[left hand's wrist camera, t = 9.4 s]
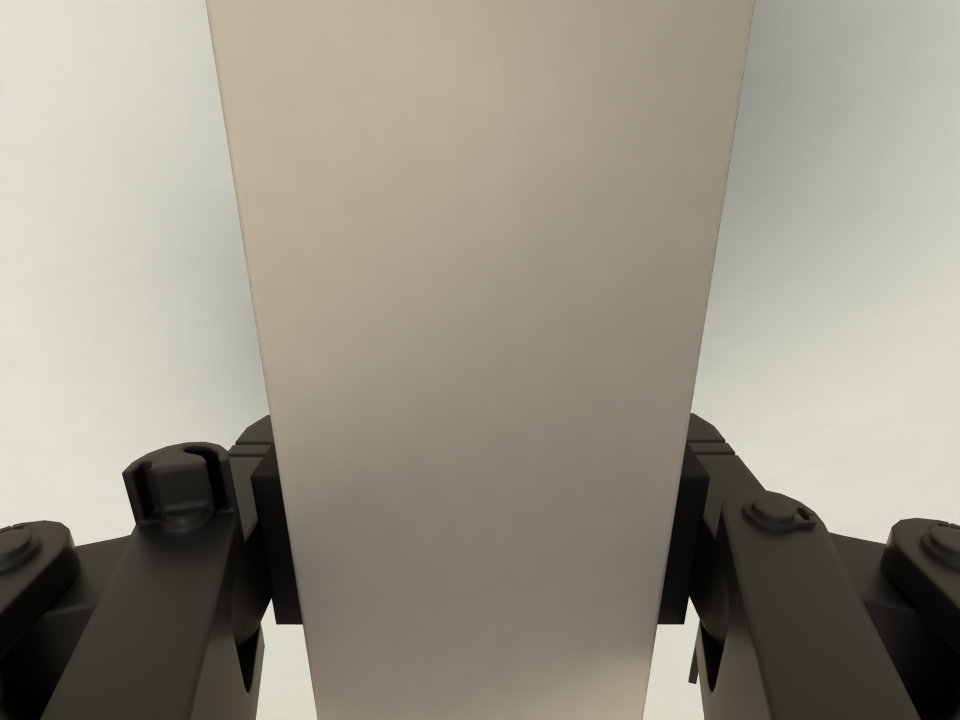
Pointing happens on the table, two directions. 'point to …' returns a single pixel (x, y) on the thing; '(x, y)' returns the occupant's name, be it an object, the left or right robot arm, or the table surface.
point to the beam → (480, 329)
